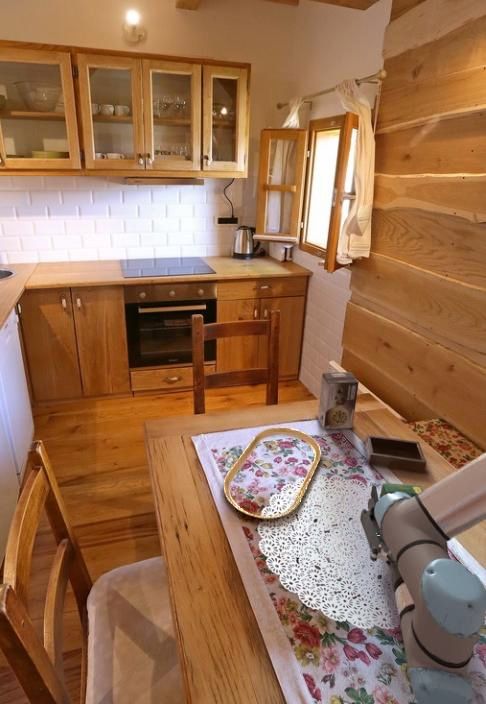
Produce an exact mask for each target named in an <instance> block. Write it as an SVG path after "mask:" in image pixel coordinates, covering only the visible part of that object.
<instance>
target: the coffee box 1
mask: <svg viewBox="0 0 486 704" xmlns="http://www.w3.org/2000/svg"><path fill="white" fill-rule="evenodd" d="M359 383H360V382H359V381H358V380H357V378H356V377H355V375H354V374H353V372H351V371H347V372H346V371H345V372H344V371H343V372H322V375H321V383H320V393H319V401H318V412H317V419H318V421H319V423H320V425H321V427H322V429H324V430H331V429H332V430H333V429H353V427H354V419H355V411H356V405H357V396H358V391H359V390H358V389H359Z"/></svg>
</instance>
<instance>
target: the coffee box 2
mask: <svg viewBox="0 0 486 704" xmlns="http://www.w3.org/2000/svg"><path fill="white" fill-rule="evenodd" d="M422 491H424V489H423V488H422V486H421V485H420V484H405V483H388V482H387V483H386V482H383V483H382V485H381V489H380V494H379V497H378V499H380V498H381V497H383V496H384V495H386V494H388V493H390V494H393V493H395V492H403V493H406V494H408V495H409V496H411V497H414V496H416V495H417V494H419V493H421V492H422ZM374 529H375V527H374ZM375 531H376V533H377V535H379V533H378V532H377V530H376V529H375ZM377 537H378V540H379V541H380V540H381V541H383V539H382V538H381V536H377Z"/></svg>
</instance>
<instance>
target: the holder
mask: <svg viewBox="0 0 486 704" xmlns="http://www.w3.org/2000/svg"><path fill="white" fill-rule="evenodd" d="M364 446H365V451H366V454H367V455H366V457H367V462H368V465H372V466H378V467H384V468H385V467H386V468H392V469H397V470H403V471H404V470H405V471H410V472H418V473H423V474H424V473H425V472H426V467H427V464H428V463H427V460H426V458H425V455H424V451H423V449H422V447H421V444H420V441H414V440H406V439H401V438H400V439H399V438H393V437H385V436H379V435H372V434H366V438H365V443H364Z"/></svg>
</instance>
